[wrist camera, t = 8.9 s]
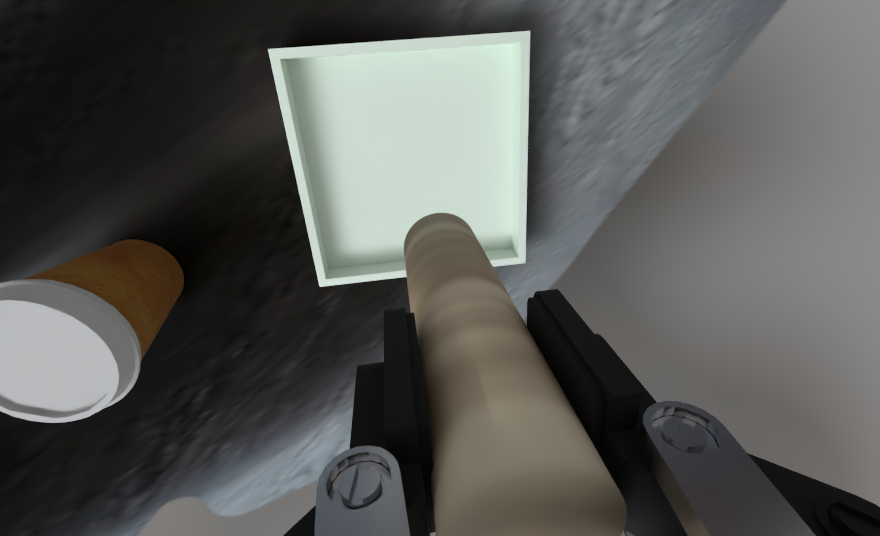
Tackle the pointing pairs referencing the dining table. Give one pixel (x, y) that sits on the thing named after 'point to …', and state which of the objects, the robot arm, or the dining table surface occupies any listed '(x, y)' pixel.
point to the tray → (406, 145)
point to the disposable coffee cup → (83, 330)
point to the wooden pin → (496, 404)
